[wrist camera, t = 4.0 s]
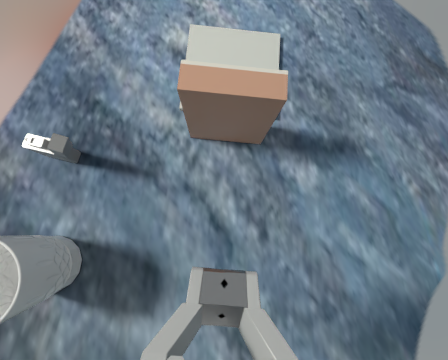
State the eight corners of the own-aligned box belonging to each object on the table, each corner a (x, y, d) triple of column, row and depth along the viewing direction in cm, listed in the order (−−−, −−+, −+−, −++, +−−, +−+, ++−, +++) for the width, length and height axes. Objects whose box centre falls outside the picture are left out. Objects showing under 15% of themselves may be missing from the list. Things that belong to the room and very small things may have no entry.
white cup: (9, 263, 28) (-102, 286, 18) (60, 218, 29) (-17, 216, 20) (49, 311, 27) (-44, 361, 18) (100, 262, 29) (40, 284, 19)
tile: (260, 144, 32) (286, 100, 21) (190, 137, 32) (177, 89, 20) (261, 124, 33) (287, 70, 21) (193, 118, 33) (181, 59, 21)
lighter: (47, 156, 31) (-10, 134, 23) (52, 145, 31) (-3, 119, 23) (98, 168, 31) (58, 151, 23) (102, 156, 31) (64, 135, 23)
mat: (275, 119, 33) (276, 117, 32) (180, 110, 33) (179, 108, 32) (279, 37, 36) (280, 34, 35) (190, 27, 35) (190, 24, 35)
